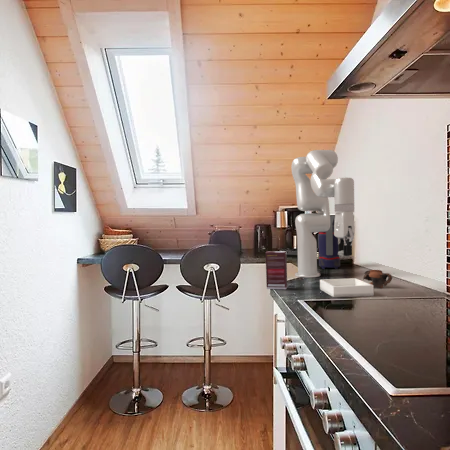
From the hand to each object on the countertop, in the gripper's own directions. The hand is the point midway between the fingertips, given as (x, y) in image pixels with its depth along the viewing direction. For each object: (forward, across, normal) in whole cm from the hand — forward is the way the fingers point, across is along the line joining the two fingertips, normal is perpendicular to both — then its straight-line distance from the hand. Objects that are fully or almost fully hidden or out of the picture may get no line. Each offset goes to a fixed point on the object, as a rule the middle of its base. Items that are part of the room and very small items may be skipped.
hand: (345, 254), depth 149 cm
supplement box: (+15, -13, -25) cm, 32 cm away
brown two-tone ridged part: (+16, -9, +18) cm, 25 cm away
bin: (+15, 0, 0) cm, 15 cm away
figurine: (+1, 0, 0) cm, 1 cm away
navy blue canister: (+15, -64, +17) cm, 68 cm away
